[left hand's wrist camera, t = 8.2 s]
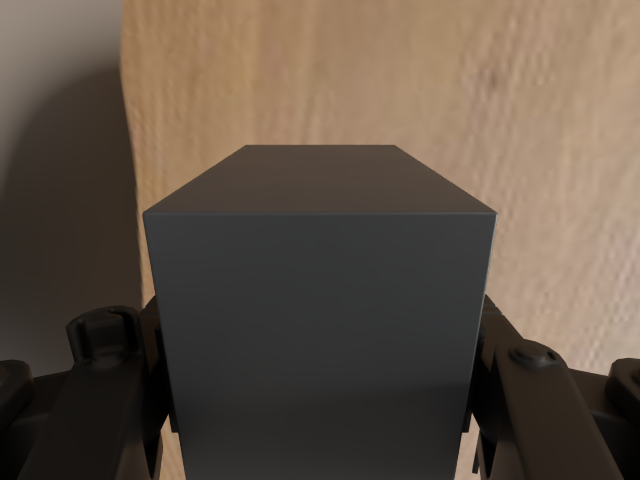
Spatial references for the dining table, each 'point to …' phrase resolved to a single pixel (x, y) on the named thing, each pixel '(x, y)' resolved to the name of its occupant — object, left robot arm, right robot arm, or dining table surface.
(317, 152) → the bar
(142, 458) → the left robot arm
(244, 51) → the dining table surface
